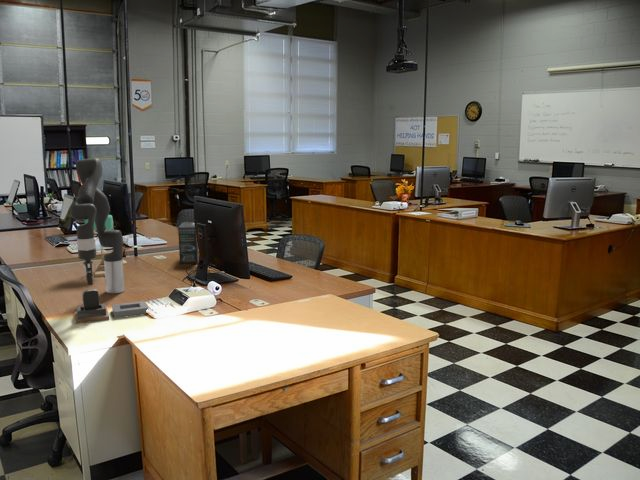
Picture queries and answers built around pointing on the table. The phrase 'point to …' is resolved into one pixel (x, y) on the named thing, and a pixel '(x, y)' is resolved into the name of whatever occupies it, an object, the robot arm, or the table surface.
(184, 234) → the computer tower
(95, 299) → the battery
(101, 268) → the banker's lamp
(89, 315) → the tray
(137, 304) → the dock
